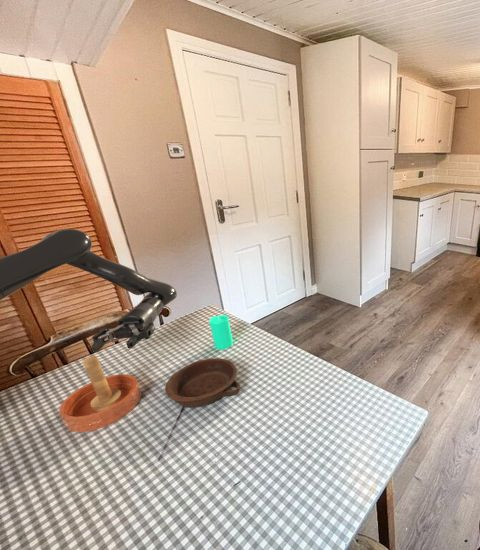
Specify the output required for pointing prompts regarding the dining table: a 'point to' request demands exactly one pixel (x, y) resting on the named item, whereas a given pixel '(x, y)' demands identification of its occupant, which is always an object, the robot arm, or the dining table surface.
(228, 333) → the candle
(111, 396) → the wooden pestle
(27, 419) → the dining table surface
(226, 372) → the dish
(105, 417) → the bowl
